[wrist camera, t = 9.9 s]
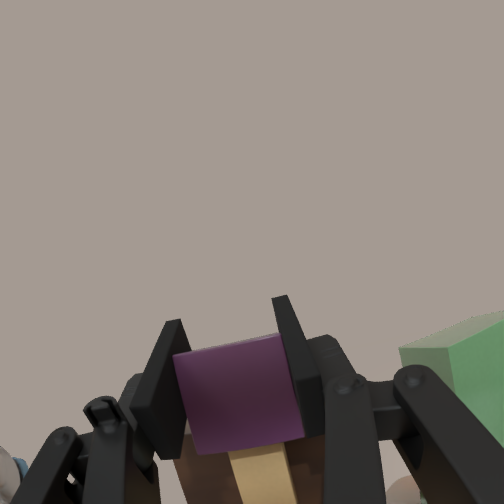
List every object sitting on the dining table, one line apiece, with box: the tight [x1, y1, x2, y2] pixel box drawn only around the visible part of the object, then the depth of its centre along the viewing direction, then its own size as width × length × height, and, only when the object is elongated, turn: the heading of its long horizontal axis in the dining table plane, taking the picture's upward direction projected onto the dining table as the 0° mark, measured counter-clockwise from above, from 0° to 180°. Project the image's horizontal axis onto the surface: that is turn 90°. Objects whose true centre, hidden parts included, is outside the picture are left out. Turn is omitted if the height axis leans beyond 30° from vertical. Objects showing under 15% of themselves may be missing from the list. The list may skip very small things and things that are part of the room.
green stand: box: [399, 311, 504, 504], centre depth 19 cm, size 10×10×32 cm
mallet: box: [172, 333, 305, 504], centre depth 12 cm, size 16×4×4 cm
